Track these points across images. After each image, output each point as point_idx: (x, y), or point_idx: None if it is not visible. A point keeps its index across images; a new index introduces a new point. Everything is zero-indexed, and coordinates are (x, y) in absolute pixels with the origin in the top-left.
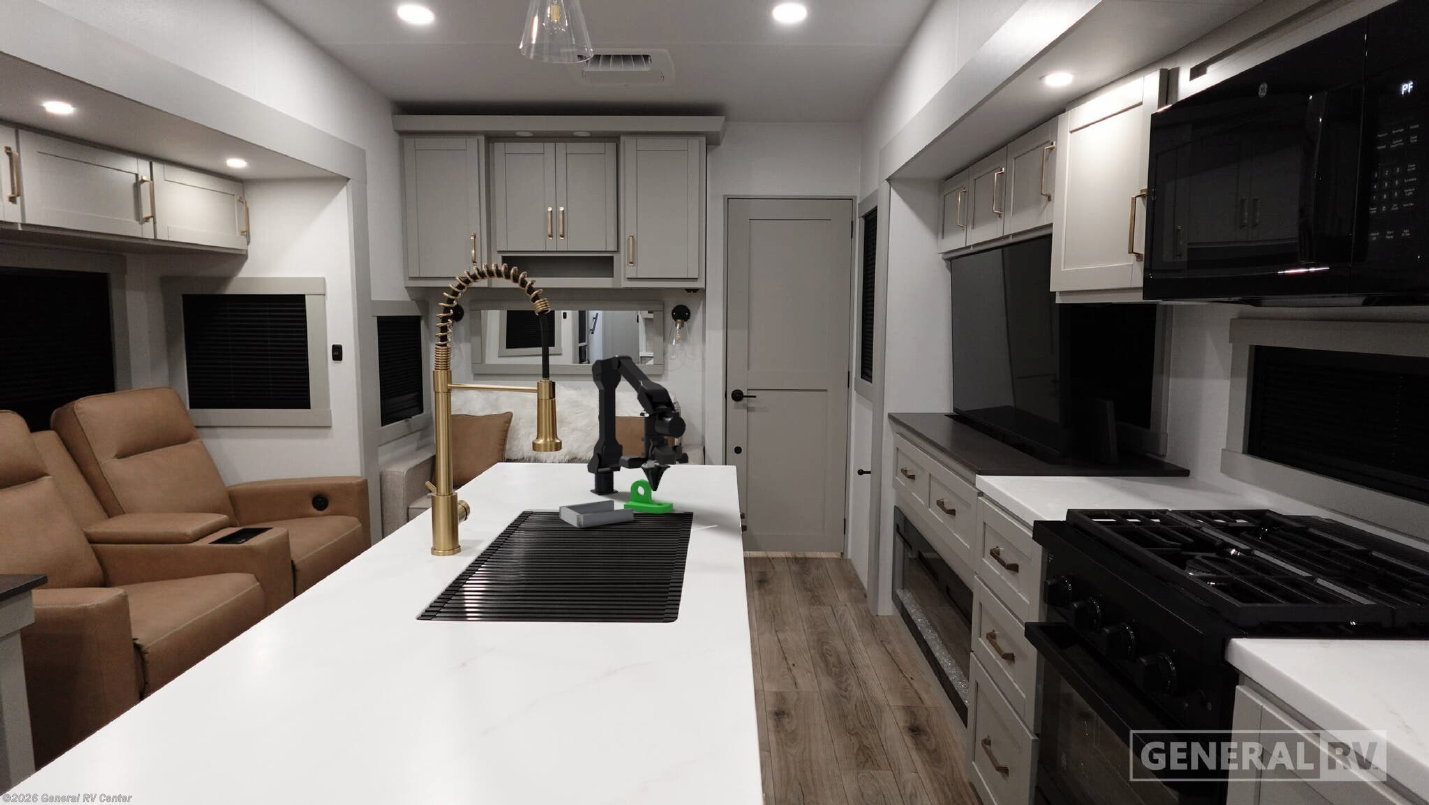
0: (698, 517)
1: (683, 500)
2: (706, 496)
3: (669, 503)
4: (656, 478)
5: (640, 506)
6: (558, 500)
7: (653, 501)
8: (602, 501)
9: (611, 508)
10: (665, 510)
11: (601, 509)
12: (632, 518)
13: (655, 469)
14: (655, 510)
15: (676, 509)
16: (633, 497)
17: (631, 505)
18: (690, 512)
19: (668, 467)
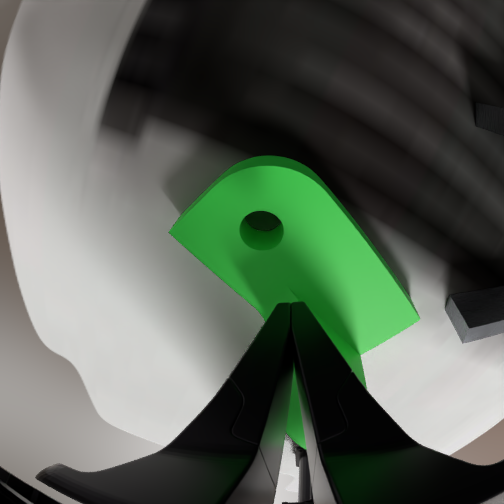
0: (116, 5)
1: (107, 337)
2: (44, 338)
3: (189, 238)
4: (279, 399)
5: (378, 256)
6: (440, 426)
7: (264, 311)
8: (501, 329)
9: (466, 303)
10: (248, 161)
11: (499, 297)
12: (484, 104)
13: (386, 500)
14: (314, 177)
15: (160, 215)
16: (355, 363)
17: (402, 293)
18: (111, 122)
19: (71, 479)
